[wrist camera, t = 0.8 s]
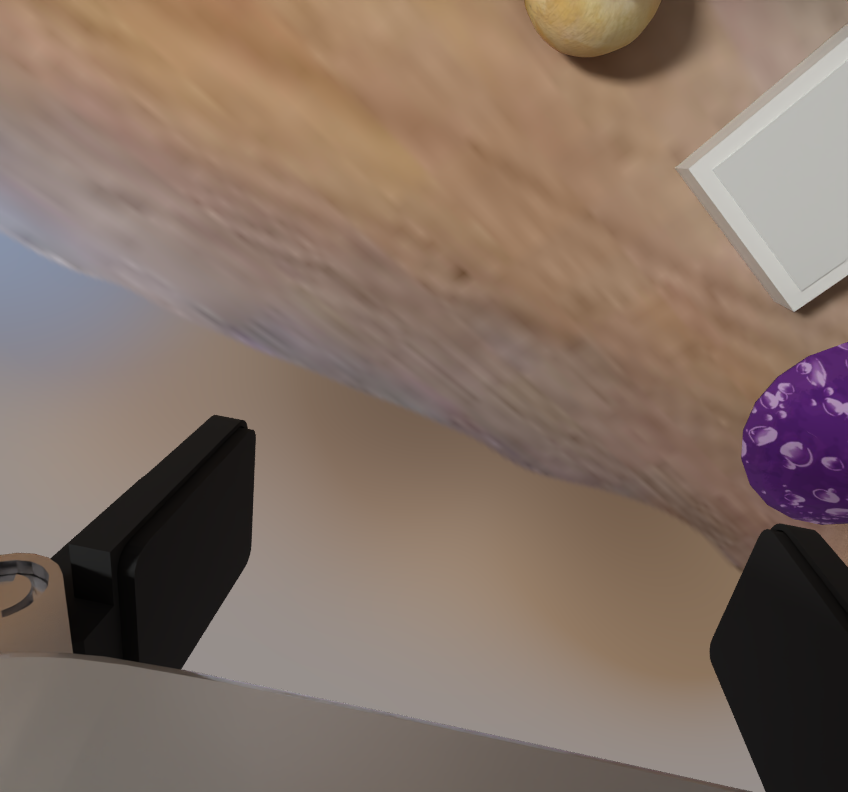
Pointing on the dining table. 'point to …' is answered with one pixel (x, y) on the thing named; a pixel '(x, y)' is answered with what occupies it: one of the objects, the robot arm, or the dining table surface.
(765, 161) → the blank white picture frame
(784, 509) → the decorative mushroom
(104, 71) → the dining table surface
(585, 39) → the onion
